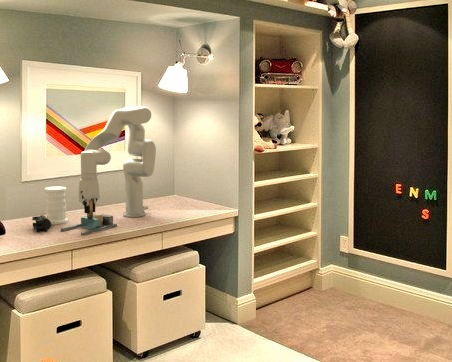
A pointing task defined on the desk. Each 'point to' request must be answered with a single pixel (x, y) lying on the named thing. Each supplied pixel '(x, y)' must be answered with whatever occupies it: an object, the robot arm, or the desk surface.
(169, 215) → the desk surface
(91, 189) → the robot arm
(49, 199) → the decorative container
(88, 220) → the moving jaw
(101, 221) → the beige cylinder
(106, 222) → the vise frame
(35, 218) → the end cap
